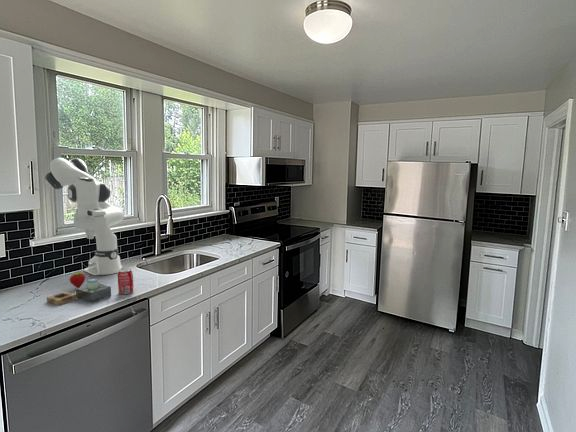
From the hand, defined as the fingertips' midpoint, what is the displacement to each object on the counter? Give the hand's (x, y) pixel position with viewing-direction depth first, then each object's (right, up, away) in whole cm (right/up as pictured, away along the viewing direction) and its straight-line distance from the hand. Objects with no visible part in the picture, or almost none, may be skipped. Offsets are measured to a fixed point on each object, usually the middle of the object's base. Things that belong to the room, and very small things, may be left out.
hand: (90, 238), depth 163 cm
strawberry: (-14, -27, +13) cm, 33 cm away
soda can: (+14, -29, +8) cm, 33 cm away
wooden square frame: (-11, -30, -4) cm, 32 cm away
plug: (+1, -29, +1) cm, 29 cm away
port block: (+1, -29, +1) cm, 29 cm away
